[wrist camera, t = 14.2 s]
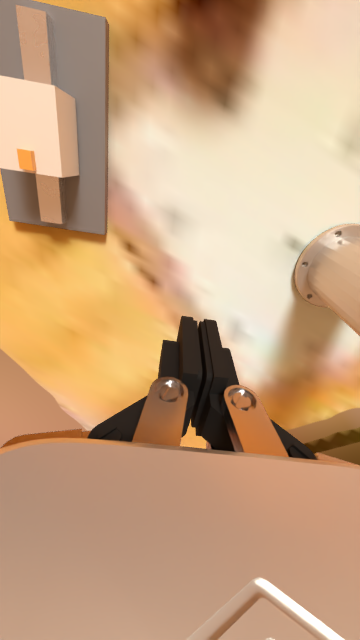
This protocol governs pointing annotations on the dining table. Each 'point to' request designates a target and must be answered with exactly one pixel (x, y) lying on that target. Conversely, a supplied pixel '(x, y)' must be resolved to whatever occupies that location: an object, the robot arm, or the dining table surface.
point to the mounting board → (91, 114)
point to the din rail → (43, 69)
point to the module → (37, 128)
